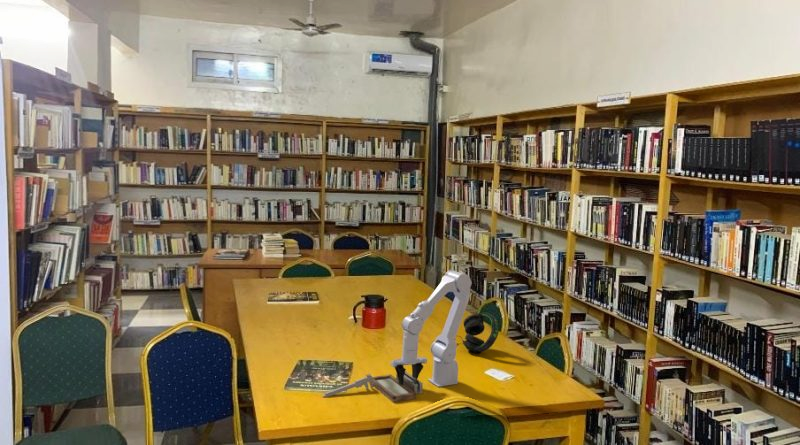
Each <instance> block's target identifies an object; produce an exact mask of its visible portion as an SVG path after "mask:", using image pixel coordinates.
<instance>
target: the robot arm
mask: <svg viewBox="0 0 800 445" xmlns="http://www.w3.org/2000/svg"><path fill="white" fill-rule="evenodd" d="M472 284H473V282H472V280H471V277H470V276H469V275H468V274H466V273H461V272H459V271H456V270H455V269H449V270H448V271H447V272H446V273H445V274H444V275H443V276H442V277H441V281H440V283H439V284H438V286H437V287H436V288H435V289H434V291H433V292H432V293H431V295H430V296H429V297H428V298H427V300H423V301H421V302H419V303H418V304H417V306H416V308H415V309H414V310H413V311H412V312H411V313H410V314H409V315H407V316H405V318H404V317H403V320H402V322H401V323H400V325H401V328H402V330H403V338H402V351H401V352H402V353H401V357H400V358H397V359H394V360H393V359H392V360H391V361H390V366H391V367H392V368H394V369H395V372H396V373H397V375H398V381H399V384H400V385H403V380H404V373H405V371H406V370H407V369H406V368H405V367H404V366H410V365H411V371H412V372H411V375H412V376H413V377H415V378H416V379H417V380H418V379H419V376H420V374H421V372H422V370H423V369H424V365H426V364H427V363H428V358H426V357H425V356H424V357H422V356H421V357H419V356H418V352H419V350H418V349H419V336H420V332H421V331H422V330H423V328H424V327H423V326H424V324H425V322H426V321H427V320H428V319H429V317H430V316H431V315H432V314H433V313H434V308H435V306H436V305H437V304H438V303H439V302H440V300H442V299H443V297H445V296H446V295H447V294H448V293H453V295H454V298H453V302H452V304H451V307H450V309H449V311H448V316H447V318H446V321H445V323H444V327H443V329H442V331H441V334H439V335H438V336H436V338H435V340H434V342H432V344H431V345H430V352H431V354H432V358H433V362H432V365H433V366H432V377H431V378H428V381H429V382H430V383H432V384H433V385H435V386H437V387H438V388H440V387H446V386H451V385H452V386H453V385H458V384H459V381H458V378H459V365H458V362H457V360H456V357H457V356H456V355H457V348H458V344H457V341H456V340H455V339H456V337H457V334H458V331H459V328H460V326H461V324H462V320H463V318H464V314H465V312H466V309H467V306H468V303H469V301H470V298H471V286H472ZM423 364H424V365H423Z"/></svg>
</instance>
